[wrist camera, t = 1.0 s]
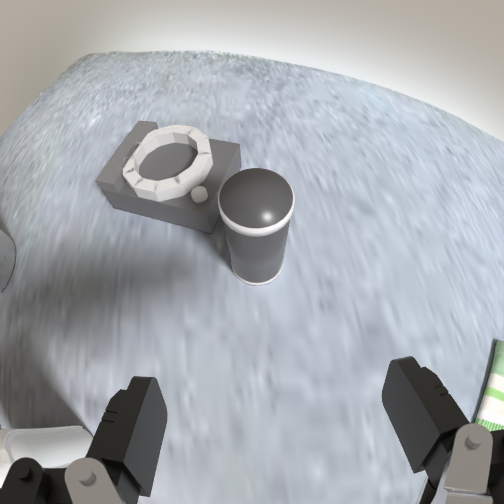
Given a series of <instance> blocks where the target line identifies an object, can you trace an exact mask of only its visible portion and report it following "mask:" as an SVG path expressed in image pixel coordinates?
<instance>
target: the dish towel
mask: <svg viewBox="0 0 504 504" xmlns="http://www.w3.org/2000/svg"><path fill="white" fill-rule="evenodd" d="M474 423H476V424H480V425H483V426H484V427H486V428H487V429H488V430H489V431H495V430H501V429H504V342H503V341H498V342H497V343H496V347H495V352H494V359H493V363H492V368H491V372H490V376H489V379H488V383H487V386H486V389H485V392H484V395H483V399H482V402H481V405H480V408H479V411H478V414H477V417H476V420H475V422H474Z"/></svg>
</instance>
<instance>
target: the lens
mask: <svg viewBox="0 0 504 504" xmlns="http://www.w3.org/2000/svg"><path fill="white" fill-rule="evenodd" d="M294 200H295V197H294V192H293V189H292V187H291V185H290V184H289V182H288V181H287V180H286V179H285V178H284V177H282V176H281V175H279V174H278V173H276V172H273V171H271V170H267V169H261V168H252V169H246V170H242V171H239V172H237V173H235V174H233V175H232V176H230V177H229V178H228V179H227V180H226V181H225V182H224V183H223V185H222V186H221V188H220V190H219V194H218V205H219V210H220V214H221V217H222V219H223V223H224V228H225V233H226V238H227V243H228V248H229V253H230V258H231V266H232V270H233V272H234V274H235V275H236V277H237V278H238V279H239V280H241V281H242V282H244V283H246V284H248V285H252V286H261V285H266V284H268V283H270V282H272V281H273V280H275V279H276V278H277V277H278V275H279V274H280V272H281V270H282V266H283V257H284V251H285V246H286V240H287V234H288V228H289V222H290V218H291V216H292V213H293V207H294Z"/></svg>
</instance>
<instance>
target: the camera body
mask: <svg viewBox="0 0 504 504" xmlns="http://www.w3.org/2000/svg"><path fill="white" fill-rule="evenodd" d="M240 168H241V155H240V144H237V143H231V142H226V141H220V140H214V139H208V137H207V136H206V135H204V134H203V133H202V132H200V131H199V130H198V129H196V128H195V127H189V126H181V125H172V126H167V127H163V128H159V129H158V126H157V123H156V122H149V121H138V123H137V124H136V125H135V126H134V128H133V129H132V130H131V132H130V133H129V134H128V135H127V137H126V138H125V139H124V141H123V142H122V143H121V145H120V146H119V147H118V149H117V150H116V152H115V153H114V154H113V156H112V157H111V159H110V160H109V161H108V163H107V164H106V166H105V167H104V169H103V170H102V172H101V173H100V175H99V176H98V178H97V179H96V182H97V184H98V185H99V187H100V188H101V190H102V191H103V193H104V194H105V196H106V197H107V199H108V200H109V202H110V203H111V205H112V206H113V208H115V209H119V210H123V211H127V212H131V213H134V214H138V215H142V216H146V217H150V218H154V219H157V220H161V221H165V222H169V223H173V224H176V225H180V226H184V227H188V228H191V229H195V230H199V231H203V232H206V233H210V234H212V232H213V230H214V227H215V225H216V223H217V220H218V218H219V216H220V210H219V205H218V194H219V190H220V188H221V186H222V185H223V183H224V182H225V181H226V180H227V179H228V178H229V177H230V176H232V175H233V174H235V173H237V172H239V170H240Z"/></svg>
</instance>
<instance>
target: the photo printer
mask: <svg viewBox="0 0 504 504" xmlns="http://www.w3.org/2000/svg"><path fill="white" fill-rule="evenodd" d="M92 440H93V437H92V436H91V434H90V433H89V432H88V431H87V430H85V429H83V427H82V426H64V427H52V428H34V429H0V488H1V487H2V485H3V483H4V480H5V478H6V476H7V473H8V471H9V469H10V467H11V465H12V464H13V463H14V462H15V461H16V460H18V459H20V458H24V457H29V458H32V459H35V460H36V461H37V462H38V463H39V464H40V465H41V466H42V467H43V468H67V467H68V466H69V465H70V464H71V463H72V462H73V461H75V460H77V459H80V458H84V457H85V456H86V454H87V452H88V449H89V447H90V445H91V442H92Z"/></svg>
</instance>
